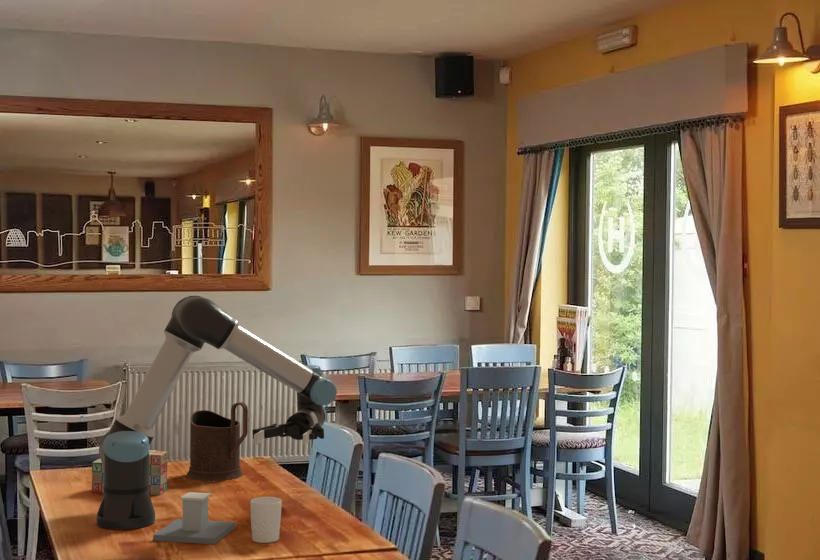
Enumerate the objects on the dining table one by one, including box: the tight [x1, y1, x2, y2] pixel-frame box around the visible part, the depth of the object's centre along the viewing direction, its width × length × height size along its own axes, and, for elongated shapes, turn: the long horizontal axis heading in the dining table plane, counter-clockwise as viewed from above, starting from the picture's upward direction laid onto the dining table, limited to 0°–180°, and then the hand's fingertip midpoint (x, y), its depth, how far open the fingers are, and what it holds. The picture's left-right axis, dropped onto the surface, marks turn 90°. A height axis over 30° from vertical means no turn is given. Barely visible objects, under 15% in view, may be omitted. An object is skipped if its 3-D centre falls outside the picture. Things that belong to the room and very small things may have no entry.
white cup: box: [249, 496, 283, 544], centre depth 260 cm, size 8×8×10 cm
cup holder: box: [185, 401, 249, 482], centre depth 333 cm, size 18×24×25 cm
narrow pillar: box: [152, 491, 236, 545], centre depth 264 cm, size 16×16×10 cm
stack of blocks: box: [91, 449, 169, 496], centre depth 310 cm, size 21×6×12 cm, turn 84°
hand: (279, 439), depth 275 cm, fingers open, 13 cm apart
